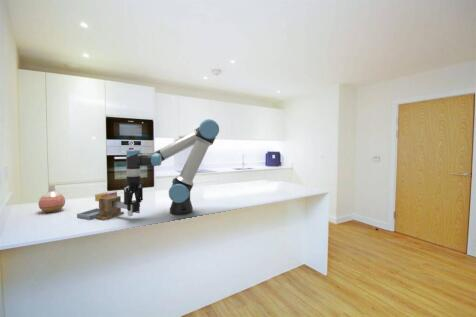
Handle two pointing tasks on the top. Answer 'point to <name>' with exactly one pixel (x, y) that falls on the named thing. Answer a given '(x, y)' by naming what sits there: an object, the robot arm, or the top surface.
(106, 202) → the bearing block
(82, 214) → the tray
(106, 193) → the spacer
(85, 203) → the top surface
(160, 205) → the top surface
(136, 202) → the shaft
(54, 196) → the vase
